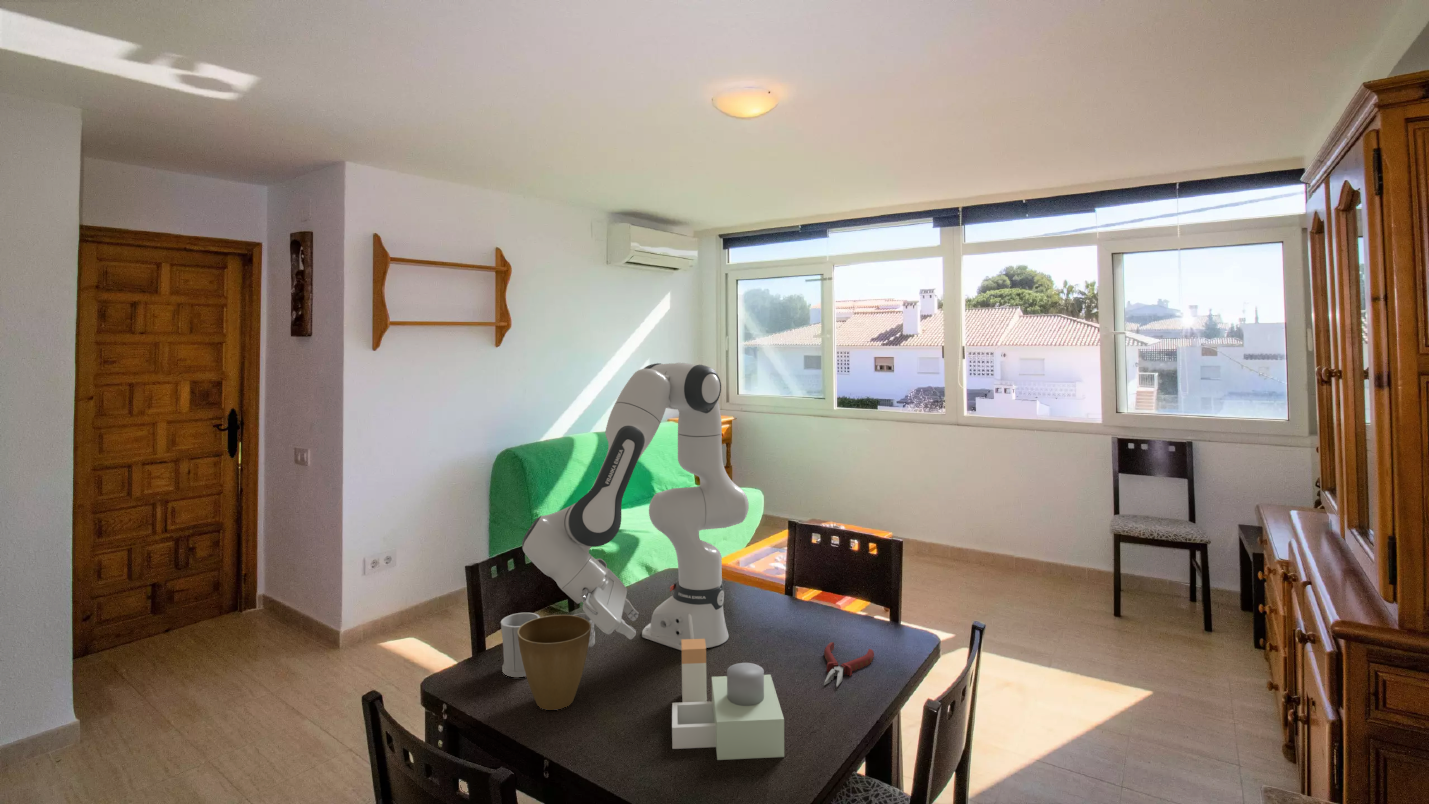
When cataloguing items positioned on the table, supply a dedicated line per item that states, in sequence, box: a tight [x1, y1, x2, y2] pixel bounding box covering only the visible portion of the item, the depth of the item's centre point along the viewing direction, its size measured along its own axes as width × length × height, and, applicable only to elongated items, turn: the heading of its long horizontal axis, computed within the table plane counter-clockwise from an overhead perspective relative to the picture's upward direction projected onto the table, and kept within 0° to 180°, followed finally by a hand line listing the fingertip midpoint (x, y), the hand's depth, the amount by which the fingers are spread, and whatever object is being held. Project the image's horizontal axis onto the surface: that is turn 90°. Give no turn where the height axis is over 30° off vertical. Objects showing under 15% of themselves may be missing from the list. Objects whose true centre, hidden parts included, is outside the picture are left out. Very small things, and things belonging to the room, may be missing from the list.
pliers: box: [823, 641, 875, 688], centre depth 154 cm, size 12×20×3 cm, turn 155°
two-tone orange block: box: [681, 639, 708, 702], centre depth 140 cm, size 5×5×12 cm
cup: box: [500, 612, 541, 677], centre depth 154 cm, size 10×9×12 cm
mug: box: [572, 612, 596, 649], centre depth 170 cm, size 10×7×7 cm
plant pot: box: [517, 614, 591, 710], centre depth 140 cm, size 15×15×16 cm
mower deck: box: [671, 662, 785, 761], centre depth 127 cm, size 20×17×12 cm
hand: (635, 626), depth 139 cm, fingers open, 8 cm apart
